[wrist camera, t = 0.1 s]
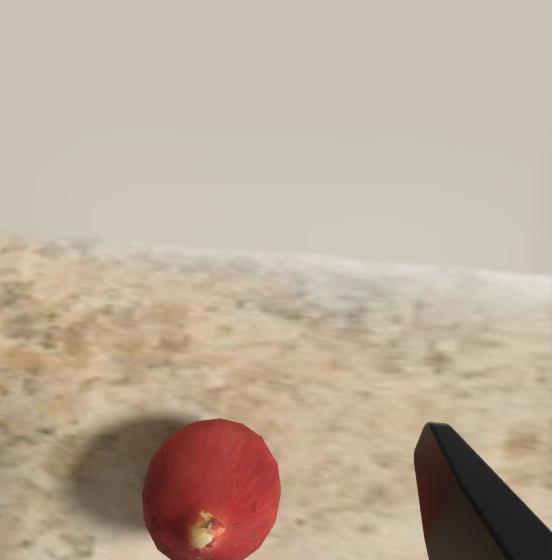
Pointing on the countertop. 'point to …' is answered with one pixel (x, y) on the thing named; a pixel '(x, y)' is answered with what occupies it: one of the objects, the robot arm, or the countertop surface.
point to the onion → (211, 492)
